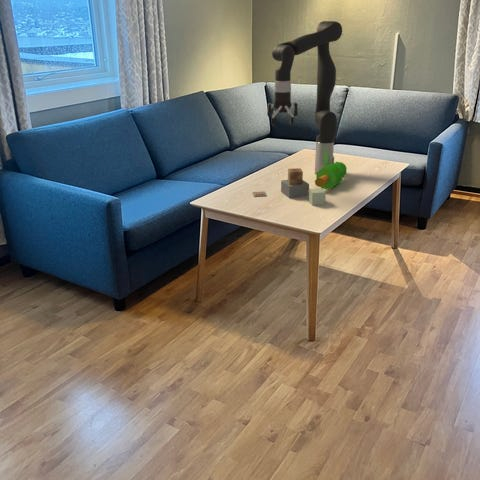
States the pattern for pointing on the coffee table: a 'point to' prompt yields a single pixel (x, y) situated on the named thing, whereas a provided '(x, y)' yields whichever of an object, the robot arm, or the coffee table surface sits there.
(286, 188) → the base block
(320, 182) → the decorative tree
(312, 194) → the sage cube
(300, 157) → the coffee table surface
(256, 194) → the card
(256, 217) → the coffee table surface
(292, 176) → the walnut cube
